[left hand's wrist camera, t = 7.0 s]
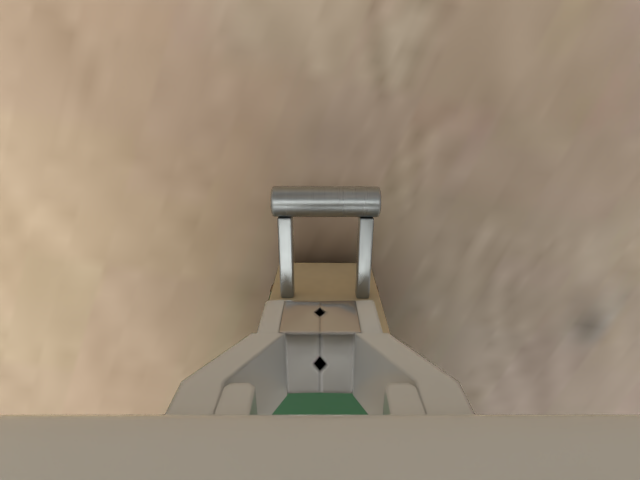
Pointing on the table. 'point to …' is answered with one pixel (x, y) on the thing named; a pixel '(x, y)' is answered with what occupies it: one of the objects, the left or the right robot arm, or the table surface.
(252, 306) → the table surface
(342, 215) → the drawer
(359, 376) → the left robot arm
